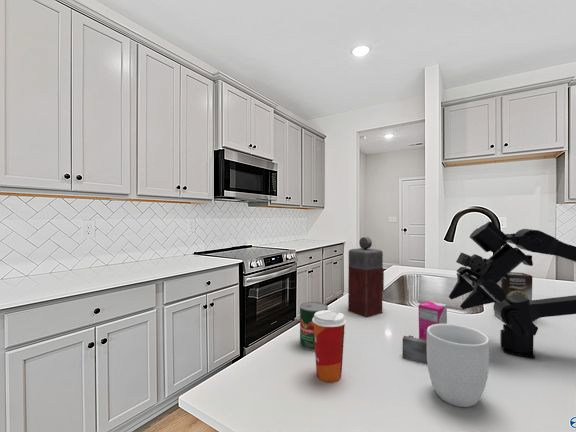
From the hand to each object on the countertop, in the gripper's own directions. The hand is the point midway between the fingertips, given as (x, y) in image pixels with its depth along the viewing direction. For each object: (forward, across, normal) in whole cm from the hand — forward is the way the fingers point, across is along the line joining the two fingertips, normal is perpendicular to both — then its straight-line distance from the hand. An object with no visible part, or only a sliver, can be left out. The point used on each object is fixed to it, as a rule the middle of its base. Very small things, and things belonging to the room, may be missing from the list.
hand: (455, 302), depth 84 cm
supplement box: (+13, 0, +5) cm, 14 cm away
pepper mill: (+24, -26, -7) cm, 36 cm away
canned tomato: (+36, +7, -19) cm, 41 cm away
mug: (+14, +24, +4) cm, 28 cm away
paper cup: (+32, +22, -15) cm, 42 cm away
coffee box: (-10, -27, +28) cm, 40 cm away
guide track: (+14, +7, +3) cm, 16 cm away
